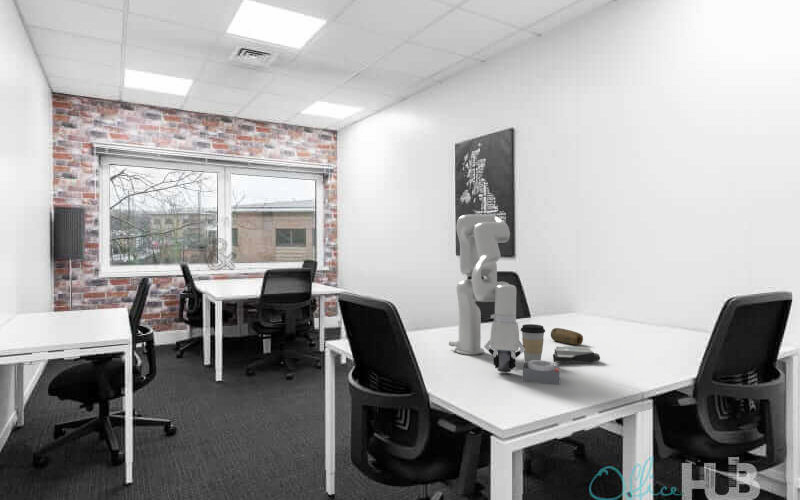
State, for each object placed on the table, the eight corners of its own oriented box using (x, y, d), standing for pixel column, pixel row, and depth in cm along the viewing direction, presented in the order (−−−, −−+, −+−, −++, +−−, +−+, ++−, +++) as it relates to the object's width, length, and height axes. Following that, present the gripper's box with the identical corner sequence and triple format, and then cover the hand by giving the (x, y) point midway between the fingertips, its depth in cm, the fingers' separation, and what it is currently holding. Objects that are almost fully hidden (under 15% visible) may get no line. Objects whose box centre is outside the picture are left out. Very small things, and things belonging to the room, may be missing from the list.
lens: (496, 371, 171) (496, 351, 171) (498, 367, 176) (498, 347, 176) (510, 372, 170) (511, 352, 169) (511, 369, 174) (512, 349, 174)
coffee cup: (532, 368, 180) (532, 328, 180) (515, 362, 189) (515, 325, 188) (550, 365, 185) (550, 326, 184) (533, 360, 193) (533, 323, 193)
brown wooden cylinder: (548, 341, 230) (548, 328, 230) (556, 340, 234) (556, 326, 234) (576, 347, 218) (576, 332, 218) (584, 345, 222) (584, 331, 222)
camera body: (522, 381, 163) (522, 364, 163) (523, 374, 172) (523, 358, 171) (559, 384, 159) (559, 367, 159) (558, 377, 168) (558, 361, 168)
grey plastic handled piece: (604, 364, 187) (604, 351, 187) (556, 366, 184) (556, 352, 184) (581, 355, 203) (581, 343, 203) (537, 356, 200) (537, 344, 200)
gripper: (480, 318, 171) (479, 368, 172) (529, 321, 166) (528, 373, 167) (483, 315, 178) (482, 363, 179) (529, 318, 173) (528, 367, 174)
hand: (504, 367), depth 173 cm, fingers closed on lens, 5 cm apart
